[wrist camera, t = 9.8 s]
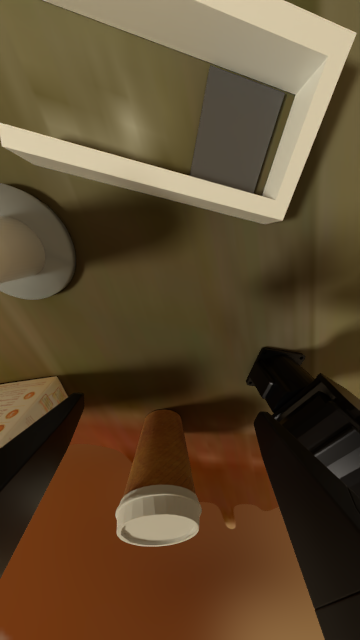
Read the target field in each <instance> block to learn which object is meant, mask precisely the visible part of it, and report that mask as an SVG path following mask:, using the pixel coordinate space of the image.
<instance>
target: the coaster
mask: <svg viewBox="0 0 360 640" xmlns="http://www.w3.org/2000/svg"><path fill="white" fill-rule="evenodd" d="M0 216H4V217H10V218H13V219H16V220H19V221H20V222H22V223H24V224H25V225H27V226H28V227H29V228H30V229H31V230H32V231H33V232H34V233H35V234H36V235H37V237H38V238H39V239H40V241H41V243H42V245H43V248H44V251H45V263H44V266H43V268H42V270H41V271H40V272H39V273H37V274H36V275H34V276H30V277H26V278H22V279H18V280H13V281H9V282H5V283H1V284H0V291H2V292H4V293H6V294H8V295H11V296H14V297H18V298H22V299H43V298H46V297H49V296H52V295H54V294H56V293H58V292H60V291H62V290H63V289H64V288H65V287H66V286H67V285H68V284H69V283H70V281H71V279H72V278H73V275H74V272H75V267H76V254H75V249H74V245H73V242H72V239H71V237H70V235H69V233H68V230H67V229H66V227H65V226H64V224H63V222H62V221H61V220H60V219H59V217H58V216H57V215H56V214H55V213H54V212H53V211H52V209H50V208H49V207H48V206H47V205H46V204H45V203H43V202H42V201H41V200H39V199H38V198H36V197H35V196H33V195H31V194H29V193H27V192H25V191H23V190H20V189H17V188H15V187H12V186H8V185H5V184H1V183H0Z"/></svg>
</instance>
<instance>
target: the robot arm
mask: <svg viewBox="0 0 360 640" xmlns="http://www.w3.org/2000/svg"><path fill="white" fill-rule="evenodd" d="M264 351H265V352H264ZM304 359H305V356H304V355H303V354H301V353H295V352H289V351H282V350H276V349H270V348H262V349H261V351H260V353H259V355H258V357H257V359H256V361H255V363H254V365H253V367H252V369H251V371H250V373H249V376H248V378H247V380H246V383H247V385H250V386H255V387H256V388H257V390H258V392H259V393H260V395H261V397H262V398H263V399H265V400H266V402H267V403H268V405H269V407H270V408H271V410H272V412H273V413H274V414H273V415H270V414H269V413H268V412H262V411H261V412H259V414H258V415H257V417H256V419H255V421H254V427H255V431H256V435H257V439H258V443H259V447H260V451H261V455H262V458H263V461H264V464H265V467H266V470H267V473H268V476H269V479H270V482H271V485H272V488H273V490H274V493H275V496H276V499H277V502H278V505H279V508H280V511H281V514H282V516H283V519H284V522H285V525H286V528H287V531H288V534H289V537H290V540H291V543H292V545H293V548H294V551H295V554H296V557H297V560H298V563H299V566H300V568H301V571H302V574H303V577H304V580H305V583H306V586H307V589H308V591H309V595H310V598H311V600H312V603H313V606H314V608H315V612H316V615H317V618H318V621H319V624H320V627H321V630H322V633H323V636H324V638H325V640H360V399H358V398H357V397H356V396H354V395H353V394H352V393H351V392H349V391H348V390H347V389H345V388H344V387H342V386H341V385H339V384H337V383H336V382H334V381H332V380H331V379H329V378H328V377H326V376H324V375H323V374H321V373H320V374H319V375H318V376H317V378H316V379H314V378H313V377H312V376H311V375H310V374H309V373H308V372H307V371H305V370H304V369H303V368H302V367H301V366H300V365H301V364H302V362H303V360H304ZM83 409H84V394H83V393H73V394H71V395H70V396H69V397H67V398H66V399H65V400H63V401H62V402H61V403H59V404H58V405H57V406H55V407H54V408H53V409H51V410H50V411H49V412H48V413H46V414H45V415H44V416H42V417H41V418H40V419H38V420H37V421H36V422H34V423H33V424H32V425H30V426H29V427H28V428H26V429H25V430H24V431H22V432H21V433H20V434H18V435H17V436H16V437H14V438H13V439H12V440H10V441H9V442H8V443H7V444H5V445H4V446H3V447H1V448H0V578H1V576H2V574H3V572H4V570H5V568H6V566H7V565H8V563H9V561H10V559H11V557H12V555H13V553H14V551H15V549H16V547H17V545H18V543H19V541H20V539H21V537H22V536H23V534H24V532H25V530H26V528H27V526H28V524H29V522H30V520H31V518H32V516H33V514H34V512H35V510H36V509H37V507H38V504H39V503H40V501H41V499H42V497H43V495H44V493H45V491H46V489H47V487H48V485H49V483H50V481H51V479H52V478H53V476H54V474H55V472H56V470H57V468H58V466H59V464H60V462H61V460H62V458H63V456H64V454H65V453H66V450H67V448H68V446H69V444H70V442H71V439H72V437H73V434H74V432H75V429H76V427H77V424H78V422H79V420H80V417H81V415H82V412H83Z"/></svg>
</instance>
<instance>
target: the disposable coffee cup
mask: <svg viewBox="0 0 360 640" xmlns="http://www.w3.org/2000/svg"><path fill="white" fill-rule="evenodd" d="M200 515H201V505H200V503H199V502H198V498H197V496H196V494H195V489H194V484H193V479H192V473H191V468H190V463H189V457H188V452H187V446H186V441H185V436H184V431H183V425H182V420H181V417H180V416H179V415H178V414H177V413H176V412H174V411H171V410H165V409H162V410H156V411H153V412H151V413H150V414H148V415H147V417H146V418H145V421H144V424H143V428H142V431H141V435H140V439H139V442H138V446H137V450H136V453H135V457H134V460H133V464H132V468H131V471H130V475H129V479H128V482H127V486H126V489H125V493H124V496H123V498H122V499H121V502H120V505H119V506H118V508H117V510H116V519H117V535H118V537H119V538H120V539H121V540H123V541H124V542H127V543H130V544H134V545H139V546H166V545H172V544H176V543H180V542H183V541H186V540H188V539H190V538H192V537H193V536H195V535H196V534H197V532H198V530H199V516H200Z"/></svg>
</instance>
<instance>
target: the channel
mask: <svg viewBox="0 0 360 640" xmlns="http://www.w3.org/2000/svg"><path fill="white" fill-rule="evenodd" d="M43 1H46V2H48V3H51V4H54V5H56V6H59V7H62V8H64V9H67V10H70V11H72V12H75V13H78V14H81V15H83V16H86V17H89V18H91V19H94V20H97V21H99V22H102V23H105V24H107V25H110V26H113V27H115V28H118V29H121V30H123V31H126V32H129V33H131V34H134V35H137V36H139V37H142V38H145V39H147V40H150V41H153V42H156V43H158V44H161V45H164V46H166V47H169V48H172V49H174V50H177V51H180V52H182V53H185V54H188V55H190V56H193V57H196V58H198V59H201V60H204V61H206V62H209V63H212V64H214V65H217V66H220V67H222V68H225V69H228V70H231V71H233V72H236V73H239V74H241V75H244V76H247V77H249V78H252V79H255V80H257V81H260V82H263V83H265V84H268V85H271V86H273V87H276V88H279V89H281V90H284V91H287V92H289V93H292V94H295V95H296V96H295V99H294V102H293V105H292V108H291V111H290V114H289V117H288V120H287V123H286V126H285V129H284V132H283V135H282V138H281V141H280V144H279V147H278V150H277V153H276V156H275V159H274V162H273V165H272V168H271V171H270V174H269V177H268V180H267V183H266V186H265V189H264V192H263V195H262V196H259V195H256V194H253V193H254V190H255V187H256V183H257V180H258V177H259V174H260V171H261V167H262V164H263V161H264V158H265V155H266V152H267V148H268V145H269V142H270V139H271V136H272V132H273V129H274V126H275V123H276V120H277V117H278V113H279V110H280V107H281V104H282V101H283V97H284V94H285V93H284V92H281V91H278V90H276V89H273V88H270V87H268V86H265V85H262V84H259V83H257V82H254V81H251V80H249V79H246V78H243V77H241V76H238V75H235V74H233V73H230V72H227V71H224V70H222V69H219V68H216V67H214V66H211V65H210V69H209V74H208V79H207V85H206V90H205V96H204V101H203V107H202V112H201V118H200V123H199V129H198V134H197V140H196V145H195V151H194V156H193V162H192V167H191V173H190V176H188V175H184V174H181V173H177V172H174V171H170V170H166V169H163V168H159V167H156V166H152V165H149V164H145V163H142V162H138V161H134V160H131V159H127V158H124V157H120V156H117V155H113V154H109V153H106V152H102V151H99V150H95V149H92V148H88V147H84V146H81V145H77V144H74V143H70V142H67V141H63V140H59V139H56V138H52V137H49V136H45V135H42V134H38V133H35V132H31V131H27V130H24V129H20V128H17V127H13V126H10V125H6V124H2V123H0V137H1V143H2V147H4V148H6V149H8V150H9V151H11V152H13V153H15V154H16V155H18V156H20V157H22V158H23V159H25V160H27V161H29V162H30V163H32V164H34V165H37V166H41V167H44V168H48V169H52V170H56V171H60V172H64V173H68V174H72V175H75V176H79V177H83V178H87V179H91V180H95V181H99V182H103V183H106V184H110V185H114V186H118V187H122V188H126V189H130V190H134V191H137V192H141V193H145V194H149V195H153V196H157V197H161V198H165V199H168V200H172V201H176V202H180V203H184V204H188V205H192V206H196V207H199V208H203V209H207V210H211V211H215V212H219V213H223V214H227V215H230V216H234V217H238V218H242V219H246V220H250V221H254V222H258V223H261V224H269V223H274V222H278V221H283V218H284V216H285V213H286V211H287V208H288V206H289V203H290V201H291V198H292V196H293V193H294V191H295V188H296V185H297V183H298V180H299V178H300V175H301V173H302V170H303V168H304V165H305V163H306V160H307V158H308V155H309V152H310V150H311V147H312V145H313V142H314V140H315V137H316V135H317V132H318V130H319V127H320V124H321V122H322V119H323V117H324V114H325V112H326V109H327V107H328V104H329V102H330V99H331V97H332V94H333V91H334V89H335V86H336V84H337V81H338V79H339V76H340V74H341V71H342V69H343V66H344V64H345V61H346V58H347V56H348V53H349V51H350V48H351V46H352V43H353V41H354V38H355V36H356V33H355V32H353V31H351V30H349V29H346V28H344V27H342V26H340V25H337V24H335V23H333V22H331V21H329V20H326V19H324V18H322V17H320V16H317V15H315V14H313V13H311V12H308V11H306V10H304V9H302V8H300V7H297V6H295V5H293V4H291V3H288V2H286V1H284V0H43Z"/></svg>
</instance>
